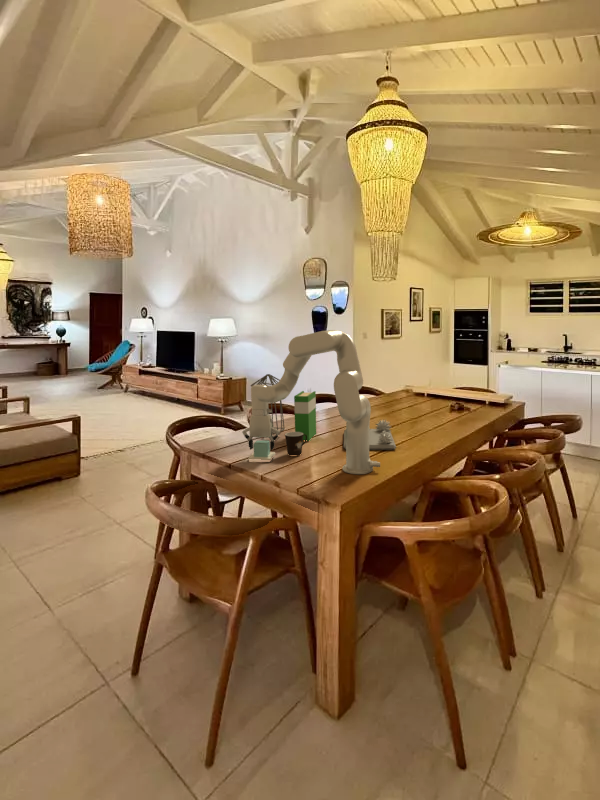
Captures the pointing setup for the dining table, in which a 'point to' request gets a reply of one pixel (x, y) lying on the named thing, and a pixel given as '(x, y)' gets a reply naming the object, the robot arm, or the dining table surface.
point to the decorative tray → (379, 437)
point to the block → (261, 448)
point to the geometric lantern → (271, 403)
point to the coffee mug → (294, 442)
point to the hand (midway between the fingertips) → (261, 449)
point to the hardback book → (305, 414)
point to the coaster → (263, 457)
